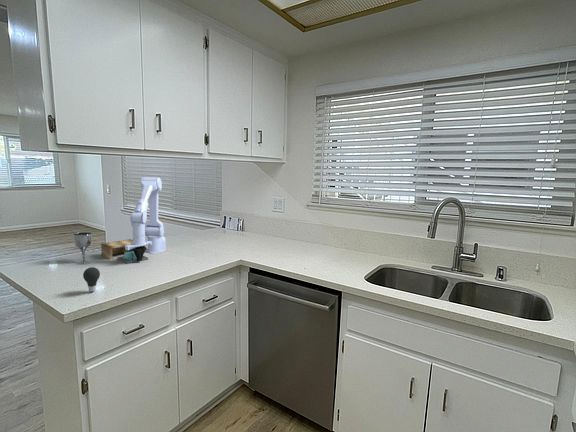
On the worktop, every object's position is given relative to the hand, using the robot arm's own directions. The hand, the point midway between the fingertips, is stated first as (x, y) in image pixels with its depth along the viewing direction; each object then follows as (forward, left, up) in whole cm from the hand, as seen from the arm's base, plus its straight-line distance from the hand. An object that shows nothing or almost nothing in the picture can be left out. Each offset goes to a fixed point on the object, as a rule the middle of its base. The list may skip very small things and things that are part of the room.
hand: (139, 260), depth 164 cm
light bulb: (+32, +24, -1) cm, 40 cm away
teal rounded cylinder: (-1, -7, -1) cm, 7 cm away
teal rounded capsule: (+3, -7, -1) cm, 7 cm away
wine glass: (+19, -19, -1) cm, 27 cm away
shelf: (0, -20, -1) cm, 20 cm away
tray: (0, -7, -2) cm, 7 cm away
